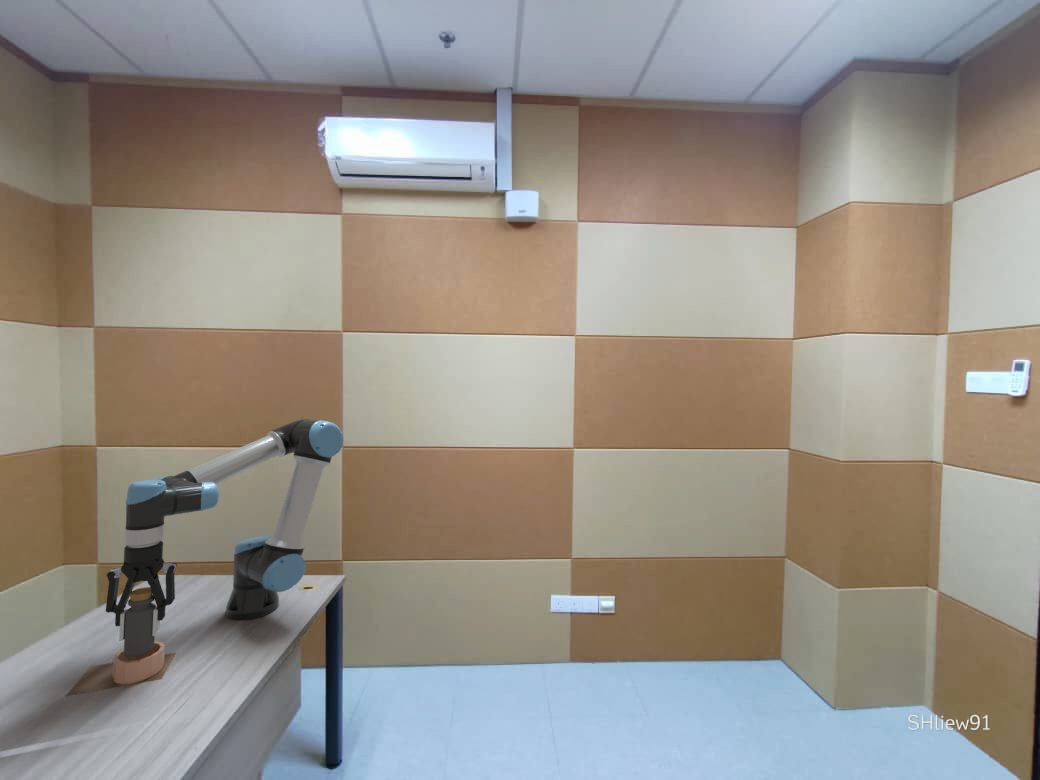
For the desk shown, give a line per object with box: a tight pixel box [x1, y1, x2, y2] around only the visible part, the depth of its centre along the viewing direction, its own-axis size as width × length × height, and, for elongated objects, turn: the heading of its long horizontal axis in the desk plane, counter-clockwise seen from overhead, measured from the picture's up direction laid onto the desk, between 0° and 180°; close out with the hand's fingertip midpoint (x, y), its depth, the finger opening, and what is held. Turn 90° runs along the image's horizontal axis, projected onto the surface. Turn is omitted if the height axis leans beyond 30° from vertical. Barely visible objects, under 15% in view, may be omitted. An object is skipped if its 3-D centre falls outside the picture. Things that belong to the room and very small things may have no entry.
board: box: [65, 652, 177, 697], centre depth 112 cm, size 18×12×1 cm, turn 113°
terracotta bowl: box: [112, 640, 166, 686], centre depth 113 cm, size 10×10×5 cm
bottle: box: [123, 586, 157, 657], centre depth 113 cm, size 6×6×15 cm
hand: (139, 635), depth 113 cm, fingers closed on bottle, 6 cm apart
